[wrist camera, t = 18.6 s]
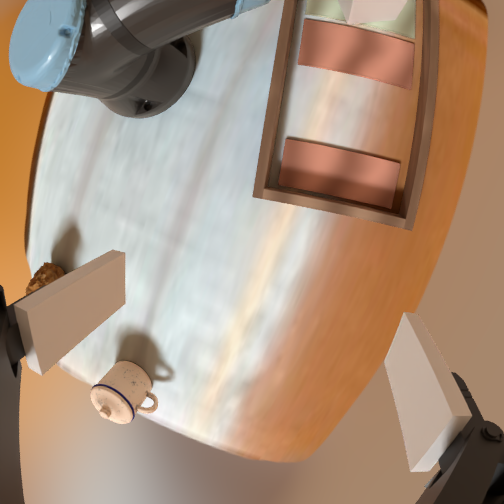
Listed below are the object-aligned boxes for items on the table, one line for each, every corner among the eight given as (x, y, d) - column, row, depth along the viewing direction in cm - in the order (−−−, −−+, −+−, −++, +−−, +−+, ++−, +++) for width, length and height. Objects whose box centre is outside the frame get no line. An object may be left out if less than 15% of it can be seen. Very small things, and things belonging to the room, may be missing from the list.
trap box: (257, 193, 41) (252, 197, 38) (295, -39, 30) (293, -51, 27) (404, 225, 39) (412, 230, 35) (430, -9, 28) (437, -19, 24)
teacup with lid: (115, 386, 57) (86, 421, 46) (111, 352, 54) (77, 387, 43) (167, 405, 56) (143, 446, 45) (167, 372, 53) (139, 414, 42)
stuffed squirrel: (49, 313, 55) (8, 342, 43) (43, 249, 51) (-7, 271, 38) (85, 328, 54) (43, 363, 42) (80, 260, 50) (28, 288, 37)
